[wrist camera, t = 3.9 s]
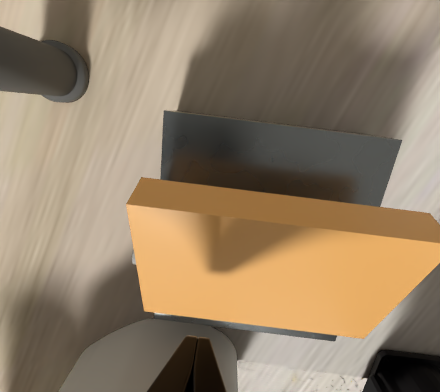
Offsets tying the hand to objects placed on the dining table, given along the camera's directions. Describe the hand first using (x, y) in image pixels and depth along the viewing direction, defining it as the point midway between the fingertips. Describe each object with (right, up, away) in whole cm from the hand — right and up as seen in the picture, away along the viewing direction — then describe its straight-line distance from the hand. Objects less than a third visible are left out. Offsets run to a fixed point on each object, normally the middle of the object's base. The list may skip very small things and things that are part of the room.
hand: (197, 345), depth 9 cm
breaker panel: (+3, +4, +7) cm, 9 cm away
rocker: (+3, +2, +2) cm, 4 cm away
